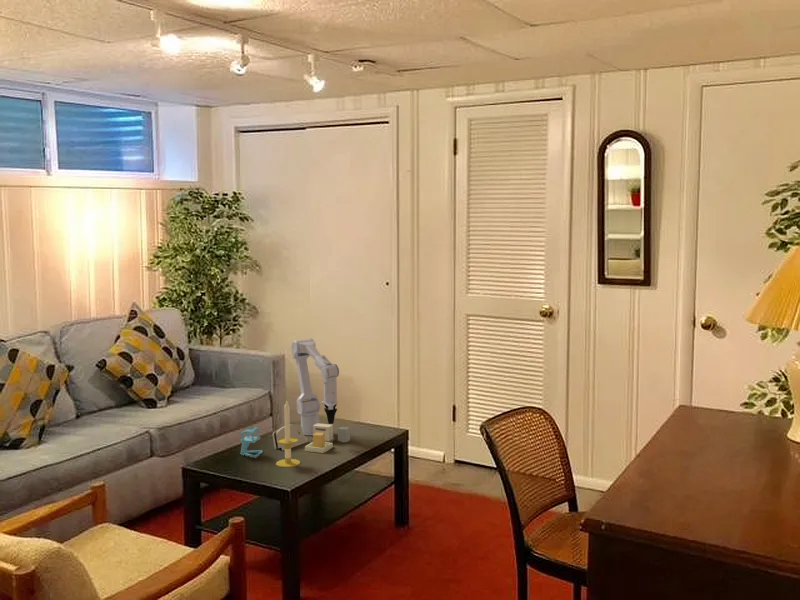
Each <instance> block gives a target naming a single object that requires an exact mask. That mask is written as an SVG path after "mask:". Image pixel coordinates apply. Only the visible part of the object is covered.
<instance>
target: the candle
mask: <svg viewBox="0 0 800 600" xmlns="http://www.w3.org/2000/svg"><path fill="white" fill-rule="evenodd" d="M283 408H284V426H285V438H280V439H278V440H277V442H278V443H280V444H285V450H284V459H280V460H278V461H276V462H275V465H276V466H277V467H281V468H293V467H296V466H297V467H298V466H299V465H301V461H300V460H299V459H295V458H292V448H291V444H293V443H296V442H297V441H298V439H297V438H292V437H290V424H291V416H290V415H291V413H290V411H291V410H290V405H289V402H288V400H286V401H285V404H284V406H283Z"/></svg>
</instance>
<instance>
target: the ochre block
mask: <svg viewBox="0 0 800 600" xmlns="http://www.w3.org/2000/svg"><path fill="white" fill-rule="evenodd" d="M312 439H313V447H319V448H323V447H325V433H317V432H316V433H315V434H313V435H312Z"/></svg>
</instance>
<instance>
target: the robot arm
mask: <svg viewBox="0 0 800 600" xmlns="http://www.w3.org/2000/svg"><path fill="white" fill-rule="evenodd" d="M316 346H317V345H316V342H315V340H314V339H313V338H307V339H299V340H297V339H295V340H293V341H292V343H291V346H290V348H291V353H292V359H294V361H295V366H296V371H297V378H298V383H299V388H300V389H299V390H300V395H299V396H298V397H297V399H296V411H297V413H298V414H299V415H300V425H301V427H302V430H303V433H304V435H306V436H313V425H315V424H317V423H321V422H320V421H321V419H320V415H319V412H320V409H321V404H322V405H324V409H323V410H324V412H325V414H326V419H327V424H330V425H334V422H335V417H336V413H337V411H338V408H336V407H337V404H338V391H337V390H338V389H337V380H338V379H337V378H338V377H339V375H340V370H339V369H340V368H339V366H338V365H337V364H335V363H332V362H331V361H330V360H329V359H328V358H327V356H326V355H323V354H321V353H320V351H319V350H318V348H316ZM310 357H311V358H312V359H313V360H314V364H315V366H316V367H317V369H318V370H320V374H321V378H322V382H323V400H322V401H321V403H320V401H319V397H318V395H316V394H315V393H314V392H313V391H312V384H311V379H310V372H309V368H308V362H307V361H308V360H307V359H308V358H310Z"/></svg>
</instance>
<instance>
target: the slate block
mask: <svg viewBox="0 0 800 600" xmlns="http://www.w3.org/2000/svg"><path fill="white" fill-rule="evenodd" d="M350 430H351V429H350V426H340V427H339V428H337V442H338V441H342V442H341V443H345V442H346V443H348V442H349V441H351V437H350V436H351V433H350V432H351V431H350ZM348 440H349V441H348ZM347 441H348V442H347Z"/></svg>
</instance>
